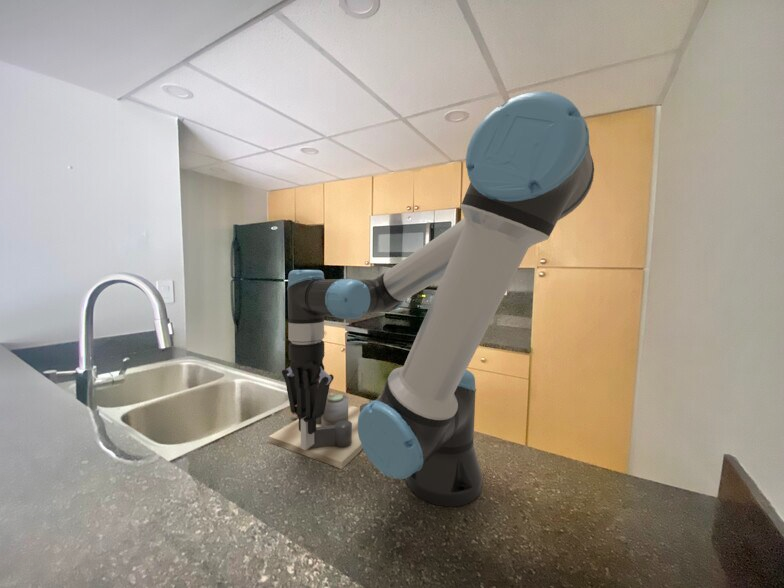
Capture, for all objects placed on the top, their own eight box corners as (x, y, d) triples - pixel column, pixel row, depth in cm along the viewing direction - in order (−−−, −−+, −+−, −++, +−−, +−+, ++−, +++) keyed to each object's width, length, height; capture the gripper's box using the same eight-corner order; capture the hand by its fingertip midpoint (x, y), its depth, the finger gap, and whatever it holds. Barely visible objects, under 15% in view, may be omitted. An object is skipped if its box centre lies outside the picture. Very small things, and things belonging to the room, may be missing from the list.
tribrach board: (392, 421, 84) (392, 385, 84) (341, 469, 63) (342, 422, 62) (330, 405, 94) (330, 373, 94) (268, 442, 73) (268, 401, 72)
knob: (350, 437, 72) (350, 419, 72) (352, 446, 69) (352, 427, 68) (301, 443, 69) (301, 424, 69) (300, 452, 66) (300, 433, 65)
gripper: (341, 340, 65) (341, 445, 66) (296, 335, 71) (297, 431, 72) (318, 347, 58) (319, 463, 59) (271, 341, 64) (273, 447, 65)
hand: (307, 445), depth 66 cm, fingers closed
